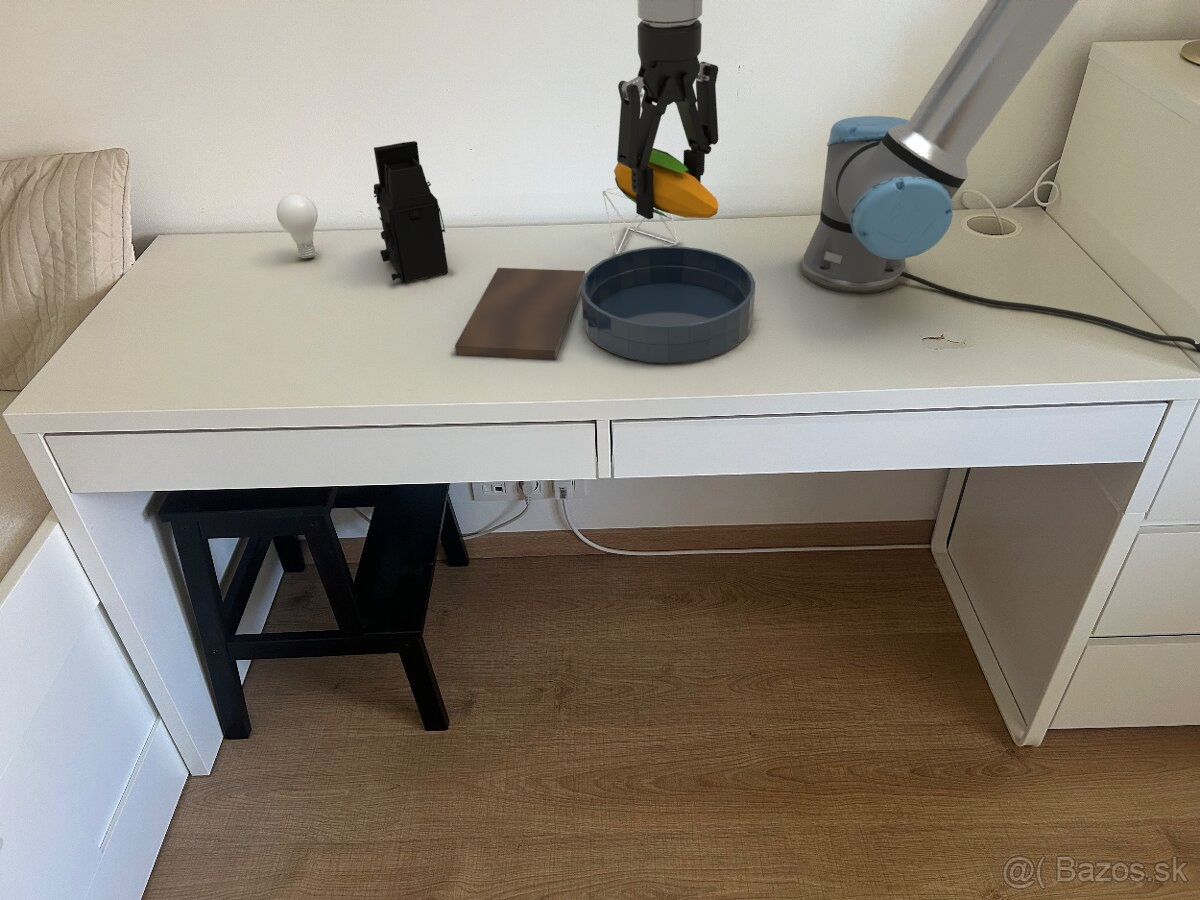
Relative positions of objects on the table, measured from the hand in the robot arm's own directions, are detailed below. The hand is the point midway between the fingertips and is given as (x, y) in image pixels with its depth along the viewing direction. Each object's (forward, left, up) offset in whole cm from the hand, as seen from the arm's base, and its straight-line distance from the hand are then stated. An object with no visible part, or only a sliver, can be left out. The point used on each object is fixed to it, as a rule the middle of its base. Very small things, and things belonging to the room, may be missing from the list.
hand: (668, 207), depth 119 cm
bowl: (0, 0, -17) cm, 17 cm away
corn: (0, 0, -1) cm, 1 cm away
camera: (+43, -15, -17) cm, 49 cm away
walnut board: (+21, 0, -17) cm, 27 cm away
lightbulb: (+62, -16, -17) cm, 66 cm away
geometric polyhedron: (+7, -26, -17) cm, 32 cm away
